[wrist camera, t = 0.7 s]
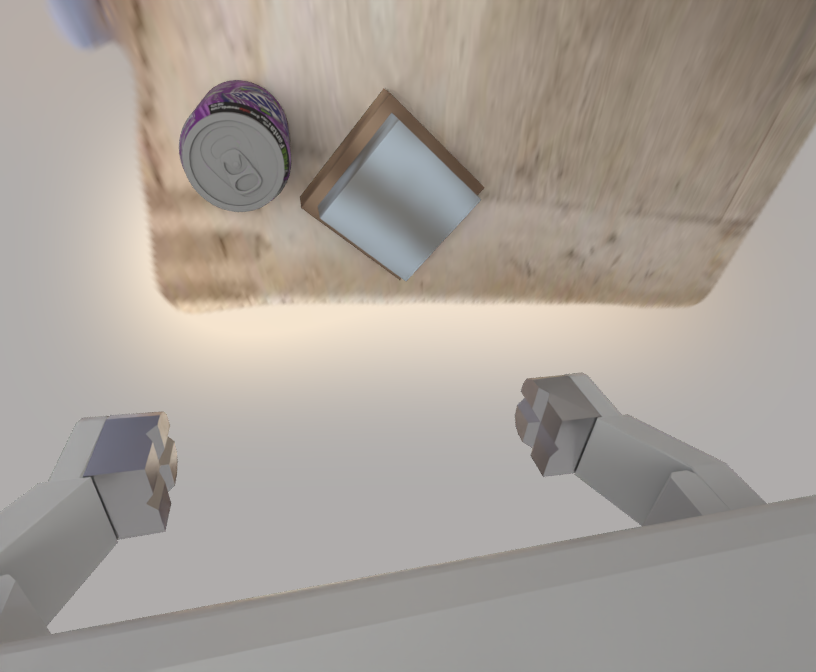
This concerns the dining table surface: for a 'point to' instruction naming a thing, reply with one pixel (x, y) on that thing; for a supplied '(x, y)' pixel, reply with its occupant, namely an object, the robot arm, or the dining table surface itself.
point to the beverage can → (236, 147)
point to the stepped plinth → (392, 189)
